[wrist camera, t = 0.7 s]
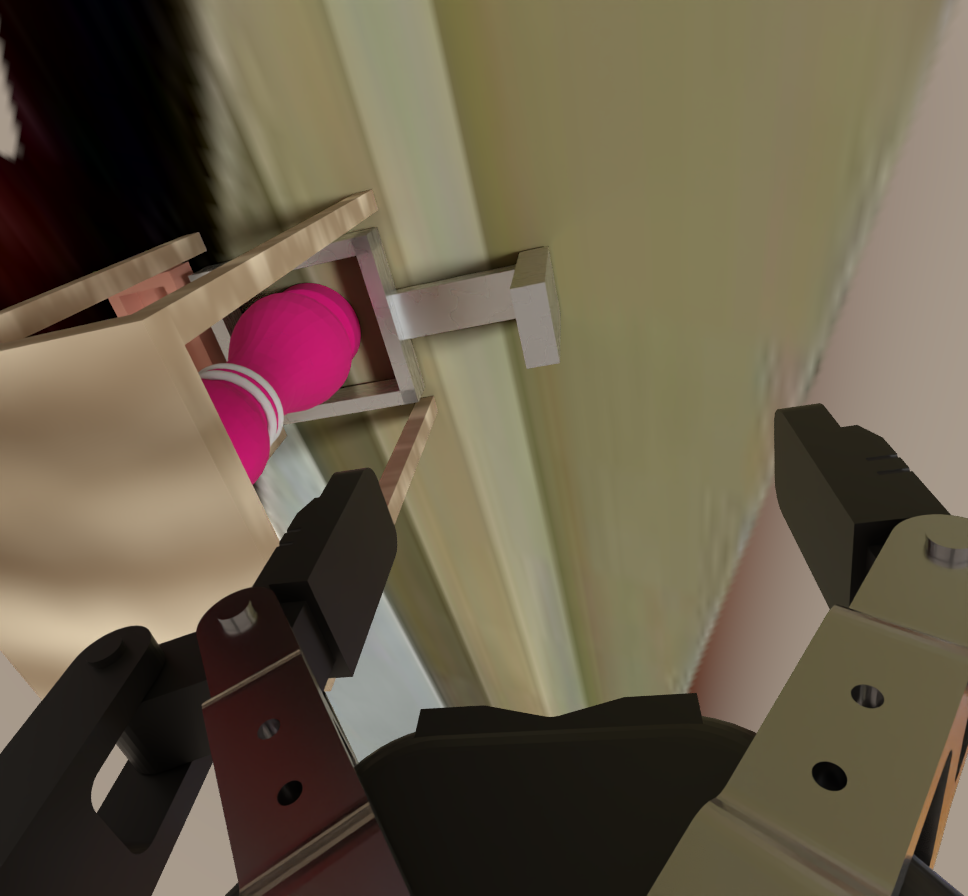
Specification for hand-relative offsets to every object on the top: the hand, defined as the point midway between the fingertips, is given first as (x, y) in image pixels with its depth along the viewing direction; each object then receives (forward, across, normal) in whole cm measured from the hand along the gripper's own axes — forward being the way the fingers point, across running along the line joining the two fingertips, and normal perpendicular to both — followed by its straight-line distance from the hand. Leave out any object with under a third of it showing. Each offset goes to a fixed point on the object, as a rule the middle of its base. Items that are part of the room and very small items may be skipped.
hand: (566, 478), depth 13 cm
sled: (+29, +12, +4) cm, 32 cm away
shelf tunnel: (+29, +18, +4) cm, 34 cm away
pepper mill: (+29, +18, +4) cm, 34 cm away
